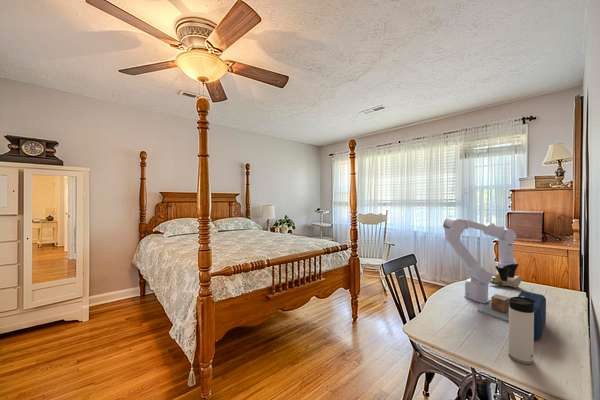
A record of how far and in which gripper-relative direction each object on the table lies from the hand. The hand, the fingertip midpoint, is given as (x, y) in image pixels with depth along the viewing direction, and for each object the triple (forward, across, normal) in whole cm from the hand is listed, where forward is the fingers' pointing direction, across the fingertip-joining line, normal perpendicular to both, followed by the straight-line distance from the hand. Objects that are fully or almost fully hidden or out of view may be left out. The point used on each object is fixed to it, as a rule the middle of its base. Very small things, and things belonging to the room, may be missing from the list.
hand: (507, 279), depth 131 cm
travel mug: (+9, -51, -23) cm, 57 cm away
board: (+10, -19, -4) cm, 22 cm away
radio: (+10, -26, -16) cm, 32 cm away
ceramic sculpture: (+11, +21, +10) cm, 26 cm away
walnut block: (+9, -19, -4) cm, 22 cm away
